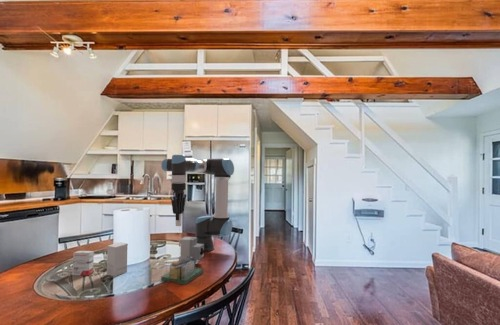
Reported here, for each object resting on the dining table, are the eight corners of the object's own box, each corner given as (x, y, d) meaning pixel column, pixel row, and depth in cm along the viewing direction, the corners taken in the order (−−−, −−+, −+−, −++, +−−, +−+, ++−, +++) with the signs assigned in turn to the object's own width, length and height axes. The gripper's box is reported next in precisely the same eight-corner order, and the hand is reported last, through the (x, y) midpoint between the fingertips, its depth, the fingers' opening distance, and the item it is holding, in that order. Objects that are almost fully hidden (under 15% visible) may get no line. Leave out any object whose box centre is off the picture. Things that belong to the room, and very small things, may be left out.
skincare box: (119, 270, 158) (120, 241, 159) (127, 272, 155) (128, 243, 156) (105, 275, 151) (106, 245, 151) (114, 277, 148) (115, 246, 148)
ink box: (93, 272, 154) (94, 250, 155) (88, 275, 149) (89, 252, 150) (77, 272, 154) (78, 250, 155) (72, 275, 149) (72, 252, 150)
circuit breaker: (201, 266, 166) (202, 240, 166) (178, 264, 169) (179, 239, 169) (206, 262, 173) (206, 237, 174) (184, 261, 176) (184, 236, 177)
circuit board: (180, 269, 161) (181, 256, 161) (203, 272, 156) (203, 259, 157) (161, 280, 144) (161, 266, 144) (185, 284, 139) (185, 269, 140)
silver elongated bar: (187, 259, 158) (188, 255, 159) (194, 259, 157) (194, 256, 157) (170, 266, 143) (170, 262, 143) (177, 267, 142) (177, 263, 142)
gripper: (179, 181, 165) (178, 223, 164) (165, 183, 152) (165, 227, 152) (190, 182, 162) (190, 223, 162) (178, 183, 150) (178, 228, 150)
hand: (178, 225), depth 157 cm, fingers closed
